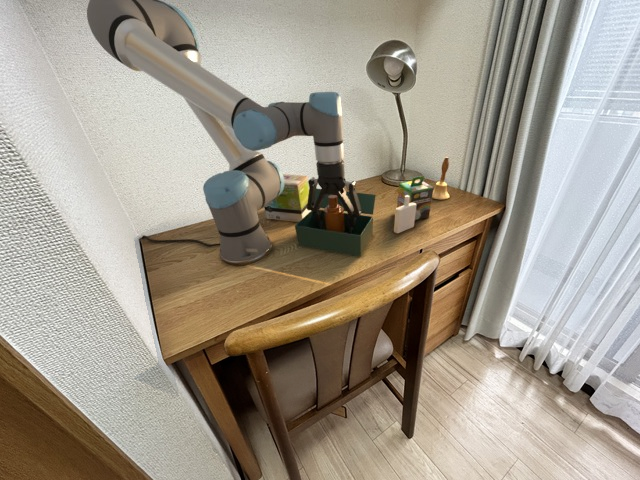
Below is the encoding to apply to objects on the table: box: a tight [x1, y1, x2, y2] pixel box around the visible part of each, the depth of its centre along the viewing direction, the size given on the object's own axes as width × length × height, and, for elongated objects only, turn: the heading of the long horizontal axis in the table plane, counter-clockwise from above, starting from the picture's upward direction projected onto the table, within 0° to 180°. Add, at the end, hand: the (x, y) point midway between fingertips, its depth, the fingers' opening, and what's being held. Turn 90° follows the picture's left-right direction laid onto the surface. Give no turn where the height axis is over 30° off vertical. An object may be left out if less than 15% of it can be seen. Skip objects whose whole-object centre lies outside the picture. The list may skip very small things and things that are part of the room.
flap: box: [314, 188, 377, 216], centre depth 85 cm, size 21×6×1 cm
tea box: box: [263, 173, 311, 223], centre depth 97 cm, size 15×10×15 cm, turn 76°
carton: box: [294, 209, 374, 257], centre depth 83 cm, size 21×13×7 cm, turn 70°
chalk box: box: [396, 175, 435, 221], centre depth 94 cm, size 9×9×15 cm
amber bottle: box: [323, 195, 345, 233], centre depth 81 cm, size 6×6×15 cm
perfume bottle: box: [393, 195, 416, 234], centre depth 86 cm, size 8×2×12 cm, turn 124°
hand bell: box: [432, 156, 450, 201], centre depth 107 cm, size 8×8×16 cm
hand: (335, 232), depth 83 cm, fingers open, 10 cm apart
